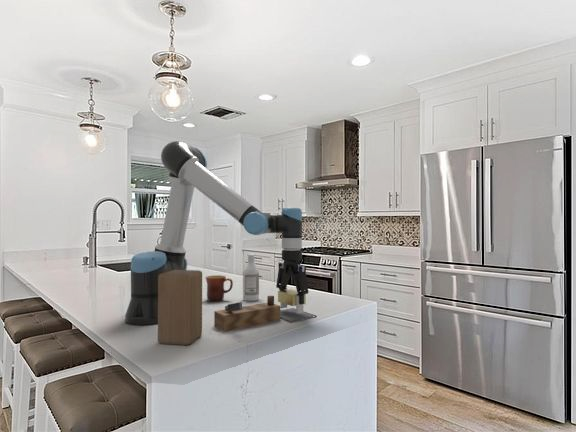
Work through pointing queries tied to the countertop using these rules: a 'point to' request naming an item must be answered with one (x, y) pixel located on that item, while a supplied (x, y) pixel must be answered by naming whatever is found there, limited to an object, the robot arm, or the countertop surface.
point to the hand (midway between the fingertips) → (291, 310)
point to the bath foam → (251, 280)
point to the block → (179, 306)
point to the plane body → (247, 316)
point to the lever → (234, 307)
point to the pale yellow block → (288, 297)
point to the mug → (216, 287)
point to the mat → (293, 315)
